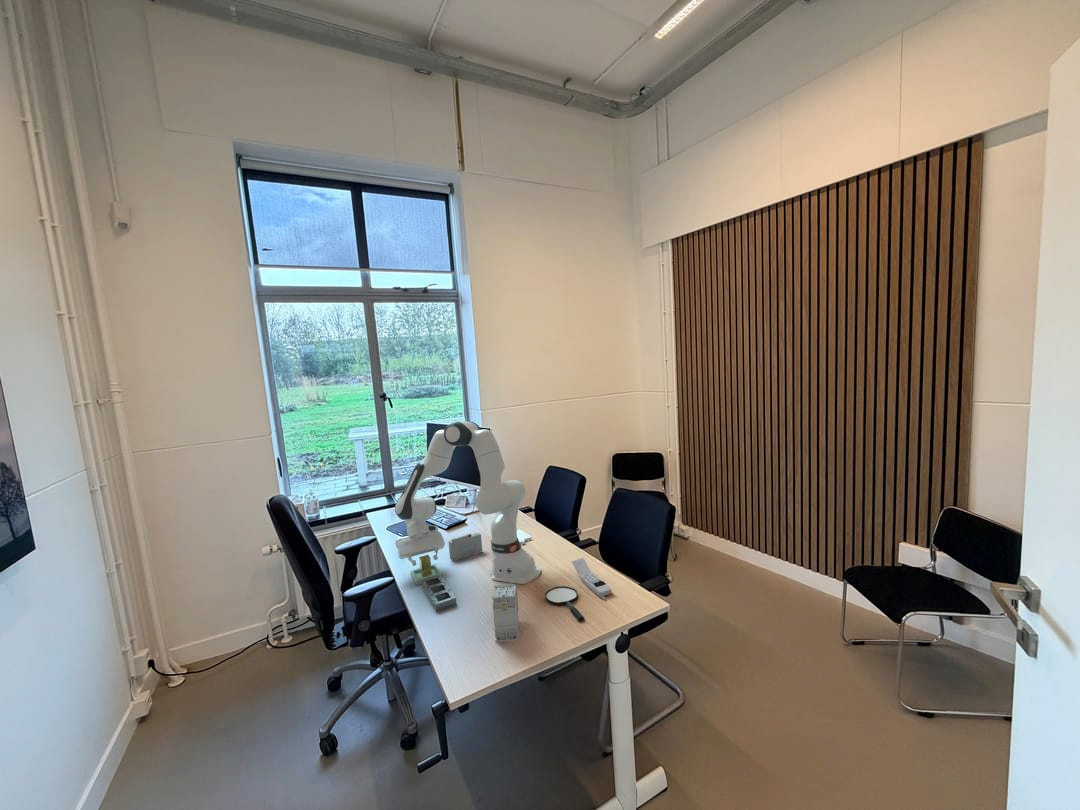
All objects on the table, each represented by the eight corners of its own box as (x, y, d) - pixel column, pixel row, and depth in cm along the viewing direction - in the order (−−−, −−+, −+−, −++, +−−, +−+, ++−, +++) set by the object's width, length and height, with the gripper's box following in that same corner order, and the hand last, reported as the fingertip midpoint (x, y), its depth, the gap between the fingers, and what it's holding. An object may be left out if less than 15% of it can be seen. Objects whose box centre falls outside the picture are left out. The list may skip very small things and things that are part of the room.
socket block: (456, 605, 164) (456, 597, 164) (435, 612, 160) (435, 604, 160) (440, 581, 183) (440, 575, 183) (422, 587, 180) (421, 580, 179)
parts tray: (442, 577, 187) (441, 573, 187) (416, 585, 182) (416, 580, 182) (435, 568, 197) (435, 563, 197) (411, 574, 192) (410, 570, 192)
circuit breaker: (518, 615, 155) (516, 575, 154) (518, 639, 141) (515, 596, 140) (498, 616, 155) (495, 576, 154) (495, 641, 141) (491, 598, 139)
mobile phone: (582, 557, 185) (614, 582, 162) (583, 570, 186) (615, 597, 163) (570, 560, 183) (601, 586, 160) (571, 574, 183) (602, 602, 160)
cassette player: (480, 550, 214) (478, 530, 213) (482, 551, 211) (480, 532, 210) (450, 559, 205) (448, 539, 205) (452, 561, 203) (450, 540, 202)
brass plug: (431, 575, 189) (430, 557, 188) (422, 578, 187) (421, 560, 186) (429, 571, 192) (428, 554, 191) (420, 574, 190) (419, 557, 190)
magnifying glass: (565, 627, 146) (565, 621, 146) (540, 595, 169) (540, 590, 169) (598, 618, 151) (597, 612, 150) (569, 587, 173) (569, 582, 173)
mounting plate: (496, 537, 229) (496, 534, 229) (518, 531, 235) (518, 528, 235) (511, 548, 213) (511, 545, 213) (534, 542, 220) (533, 538, 219)
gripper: (395, 536, 189) (401, 565, 181) (440, 525, 199) (448, 553, 191) (394, 542, 193) (400, 571, 186) (439, 531, 203) (446, 559, 195)
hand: (425, 562), depth 188 cm, fingers open, 8 cm apart
